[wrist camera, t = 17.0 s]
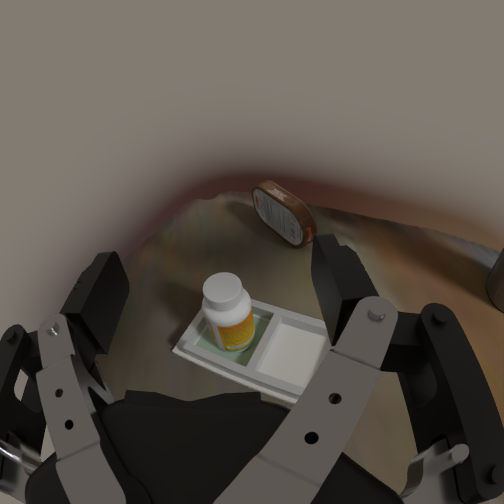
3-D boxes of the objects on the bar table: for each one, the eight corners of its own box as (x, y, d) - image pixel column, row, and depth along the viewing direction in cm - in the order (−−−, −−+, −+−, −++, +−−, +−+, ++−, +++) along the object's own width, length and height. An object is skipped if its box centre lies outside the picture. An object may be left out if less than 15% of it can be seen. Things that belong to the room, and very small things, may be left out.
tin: (316, 251, 46) (320, 208, 40) (302, 259, 44) (304, 216, 39) (264, 210, 55) (261, 172, 50) (251, 216, 54) (247, 177, 48)
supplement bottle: (263, 328, 35) (259, 277, 28) (241, 361, 32) (229, 316, 25) (228, 312, 37) (216, 260, 31) (205, 342, 34) (185, 294, 27)
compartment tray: (214, 293, 41) (211, 282, 39) (357, 338, 33) (361, 328, 31) (173, 353, 34) (167, 344, 32) (332, 416, 26) (336, 411, 24)
